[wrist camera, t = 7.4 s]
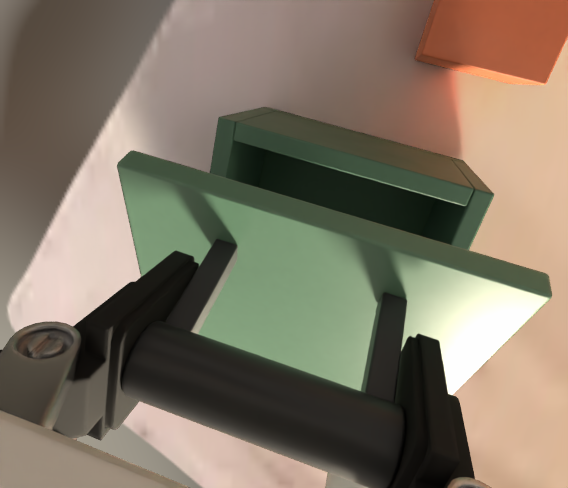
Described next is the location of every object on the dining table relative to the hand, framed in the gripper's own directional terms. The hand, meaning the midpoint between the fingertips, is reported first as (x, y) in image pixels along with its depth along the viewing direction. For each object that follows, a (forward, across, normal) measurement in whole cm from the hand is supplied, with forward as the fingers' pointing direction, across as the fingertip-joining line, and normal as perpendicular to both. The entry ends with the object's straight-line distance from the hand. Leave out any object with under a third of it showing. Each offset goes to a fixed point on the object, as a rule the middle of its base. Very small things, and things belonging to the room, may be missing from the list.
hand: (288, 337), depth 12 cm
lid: (+4, 0, +4) cm, 6 cm away
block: (+15, -4, -11) cm, 19 cm away
